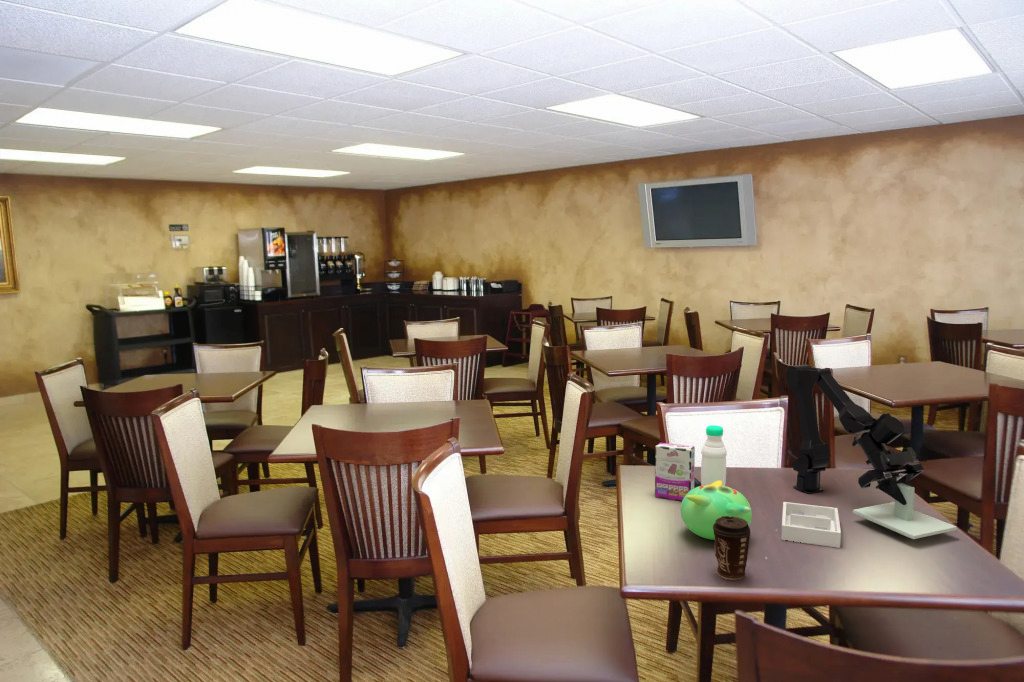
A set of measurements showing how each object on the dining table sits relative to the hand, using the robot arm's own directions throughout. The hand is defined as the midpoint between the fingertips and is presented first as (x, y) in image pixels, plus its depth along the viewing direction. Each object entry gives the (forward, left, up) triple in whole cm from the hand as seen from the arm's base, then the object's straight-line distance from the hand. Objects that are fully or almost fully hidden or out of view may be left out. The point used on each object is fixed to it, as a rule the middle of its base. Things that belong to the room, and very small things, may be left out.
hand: (908, 503), depth 188 cm
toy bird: (+49, -18, -8) cm, 53 cm away
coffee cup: (+59, 0, -8) cm, 59 cm away
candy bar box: (+41, -47, -8) cm, 63 cm away
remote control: (+27, -61, -8) cm, 67 cm away
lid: (0, -1, -5) cm, 5 cm away
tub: (+23, -11, -8) cm, 27 cm away
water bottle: (+37, -34, -8) cm, 51 cm away
